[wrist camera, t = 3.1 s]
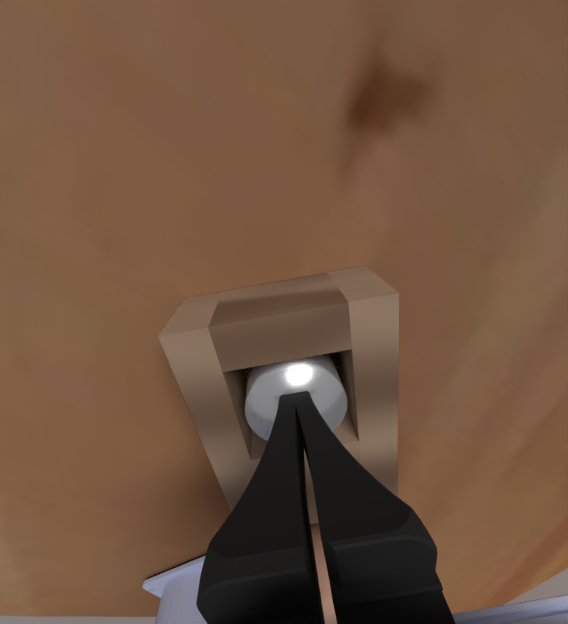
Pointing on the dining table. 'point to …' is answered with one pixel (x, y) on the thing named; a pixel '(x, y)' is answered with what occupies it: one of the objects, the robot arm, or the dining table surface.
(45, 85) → the dining table surface
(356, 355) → the wooden peg holder
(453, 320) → the dining table surface
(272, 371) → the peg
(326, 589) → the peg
